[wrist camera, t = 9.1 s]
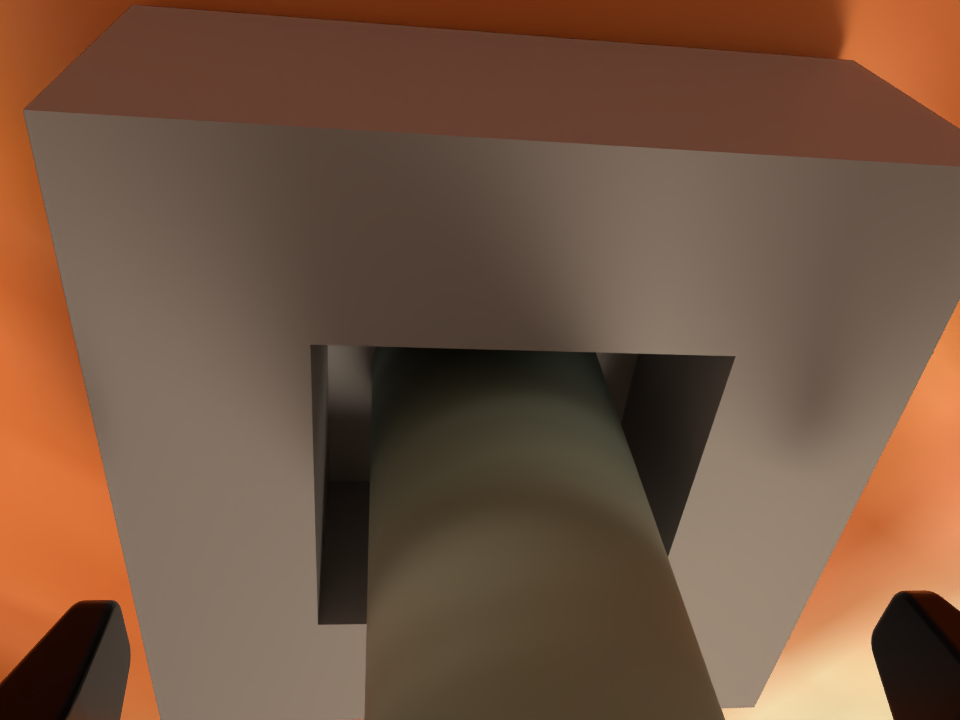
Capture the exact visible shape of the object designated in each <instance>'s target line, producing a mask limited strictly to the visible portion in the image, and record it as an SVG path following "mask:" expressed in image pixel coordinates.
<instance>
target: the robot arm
mask: <svg viewBox="0 0 960 720" xmlns="http://www.w3.org/2000/svg"><path fill="white" fill-rule="evenodd" d="M871 644H872V651H873V655H874V658H875V662H876V665H877V668H878V671H879V674H880V678H881V681H882V684H883V687H884V691H885V694H886V697H887V700H888V703H889V707H890V710H891V713H892V716H893V720H960V611H959V610H958V609H956V608H955V607H954V606H952V605H951V604H950V603H949V602H947V601H946V600H945V599H943V598H942V597H941V596H939V595H938V594H936V593H934V592H931V591H900V592H899V593H897V594H895V595H894V597H893V598H892V600H891V601H890V603H889V605H888V606H887V608H886V610H885V611H884V613H883V615H882V616H881V618H880V620H879V621H878V623H877V625H876V627H875V628H874V630H873V633H872V640H871ZM129 667H130V644H129V640H128V636H127V632H126V627H125V623H124V619H123V615H122V611H121V608H120V606H119V604H118V603H117V602H116V601H113V600H84V601H80V602H78V603H76V604H74V605H73V606H72V607H71V608H70V609H69V610H68V611H67V612H66V613H65V614H64V615H63V616H62V617H61V618H60V619H59V620H58V622H57V623H56V624H55V625H54V626H53V627H52V628H51V629H50V630H49V631H48V632H47V633H46V635H45V636H44V637H43V638H42V639H41V640H40V641H39V642H38V643H37V644H36V645H35V646H34V648H33V649H32V650H31V651H30V652H29V653H28V654H27V655H26V656H25V657H24V658H23V659H22V661H21V662H20V663H19V664H18V665H17V666H16V667H15V668H14V669H13V670H12V671H11V672H10V674H9V675H8V676H7V677H6V678H5V679H4V680H3V681H2V682H1V683H0V720H120V717H121V712H122V706H123V701H124V695H125V689H126V684H127V678H128V673H129Z"/></svg>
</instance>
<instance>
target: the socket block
mask: <svg viewBox="0 0 960 720" xmlns="http://www.w3.org/2000/svg"><path fill="white" fill-rule="evenodd" d="M23 112H24V117H25V121H26V125H27V130H28V134H29V139H30V143H31V148H32V152H33V156H34V161H35V165H36V170H37V174H38V179H39V183H40V188H41V192H42V196H43V201H44V205H45V210H46V214H47V219H48V223H49V227H50V232H51V236H52V241H53V245H54V250H55V254H56V258H57V263H58V267H59V272H60V276H61V281H62V285H63V289H64V294H65V298H66V303H67V307H68V312H69V316H70V320H71V325H72V329H73V334H74V338H75V343H76V347H77V352H78V356H79V360H80V365H81V369H82V374H83V378H84V383H85V387H86V391H87V396H88V400H89V405H90V409H91V414H92V418H93V422H94V427H95V431H96V436H97V440H98V445H99V449H100V453H101V458H102V462H103V467H104V471H105V476H106V480H107V484H108V489H109V493H110V498H111V502H112V507H113V511H114V516H115V520H116V524H117V529H118V533H119V538H120V542H121V547H122V551H123V555H124V560H125V564H126V569H127V573H128V578H129V582H130V586H131V591H132V595H133V600H134V604H135V609H136V613H137V617H138V622H139V626H140V631H141V635H142V640H143V644H144V648H145V653H146V657H147V662H148V666H149V671H150V675H151V680H152V684H153V688H154V693H155V697H156V702H157V706H158V711H159V715H160V719H161V720H351V719H364V714H365V671H366V629H367V586H368V543H369V500H370V457H371V414H372V372H373V360H374V355H375V351H376V347H377V346H379V347H416V348H452V349H489V350H526V351H563V352H596V355H597V357H598V360H599V363H600V366H601V369H602V372H603V374H604V377H605V380H606V383H607V386H608V389H609V391H610V394H611V397H612V400H613V403H614V406H615V409H616V411H617V414H618V417H619V420H620V423H621V426H622V428H623V431H624V434H625V437H626V440H627V443H628V445H629V448H630V451H631V454H632V457H633V460H634V463H635V465H636V468H637V471H638V474H639V477H640V480H641V482H642V485H643V488H644V491H645V494H646V497H647V499H648V502H649V505H650V508H651V511H652V514H653V517H654V519H655V522H656V525H657V528H658V531H659V534H660V536H661V539H662V542H663V545H664V548H665V551H666V553H667V556H668V559H669V562H670V565H671V568H672V570H673V573H674V576H675V579H676V582H677V585H678V588H679V590H680V593H681V596H682V599H683V602H684V605H685V607H686V610H687V613H688V616H689V619H690V622H691V624H692V627H693V630H694V633H695V636H696V639H697V642H698V644H699V647H700V650H701V653H702V656H703V659H704V661H705V664H706V667H707V670H708V673H709V676H710V678H711V681H712V684H713V687H714V690H715V693H716V696H717V698H718V701H719V704H720V707H721V708H745V707H754V706H755V704H756V703H757V701H758V699H759V697H760V695H761V693H762V691H763V689H764V687H765V685H766V683H767V681H768V679H769V677H770V675H771V673H772V671H773V669H774V667H775V665H776V663H777V661H778V659H779V657H780V655H781V653H782V651H783V649H784V647H785V645H786V643H787V641H788V639H789V637H790V635H791V633H792V631H793V629H794V627H795V625H796V623H797V621H798V619H799V617H800V615H801V613H802V611H803V609H804V607H805V605H806V603H807V601H808V599H809V597H810V595H811V593H812V591H813V589H814V587H815V585H816V583H817V581H818V579H819V577H820V575H821V573H822V571H823V569H824V568H825V566H826V564H827V562H828V560H829V558H830V556H831V554H832V552H833V550H834V548H835V546H836V544H837V542H838V540H839V538H840V536H841V534H842V532H843V530H844V528H845V526H846V524H847V522H848V520H849V518H850V516H851V514H852V512H853V510H854V508H855V506H856V504H857V502H858V500H859V498H860V496H861V494H862V492H863V490H864V488H865V486H866V484H867V482H868V480H869V478H870V476H871V474H872V472H873V470H874V468H875V466H876V464H877V462H878V460H879V458H880V456H881V454H882V452H883V450H884V448H885V446H886V444H887V442H888V440H889V438H890V436H891V435H892V433H893V431H894V429H895V427H896V425H897V423H898V421H899V419H900V417H901V415H902V413H903V411H904V409H905V407H906V405H907V403H908V401H909V399H910V397H911V395H912V393H913V391H914V389H915V387H916V385H917V383H918V381H919V379H920V377H921V375H922V373H923V371H924V369H925V367H926V365H927V363H928V361H929V359H930V357H931V355H932V353H933V351H934V349H935V347H936V345H937V343H938V341H939V339H940V337H941V335H942V333H943V331H944V329H945V327H946V325H947V323H948V321H949V319H950V317H951V315H952V313H953V311H954V309H955V307H956V305H957V303H958V301H959V300H960V129H959V128H958V127H956V126H954V125H953V124H951V123H950V122H948V121H947V120H945V119H944V118H942V117H941V116H939V115H937V114H936V113H934V112H933V111H931V110H930V109H928V108H927V107H925V106H923V105H922V104H920V103H919V102H917V101H916V100H914V99H913V98H911V97H909V96H908V95H906V94H905V93H903V92H902V91H900V90H899V89H897V88H895V87H894V86H892V85H891V84H889V83H888V82H886V81H885V80H883V79H882V78H880V77H878V76H877V75H875V74H874V73H872V72H871V71H869V70H868V69H866V68H864V67H863V66H861V65H860V64H858V63H857V62H855V61H854V60H842V59H829V58H816V57H803V56H790V55H778V54H765V53H752V52H739V51H726V50H713V49H700V48H687V47H674V46H661V45H648V44H635V43H622V42H609V41H596V40H583V39H570V38H557V37H545V36H532V35H519V34H506V33H493V32H480V31H467V30H454V29H441V28H428V27H415V26H402V25H389V24H376V23H363V22H350V21H337V20H325V19H312V18H299V17H286V16H273V15H260V14H247V13H234V12H221V11H208V10H195V9H182V8H169V7H156V6H143V5H132V6H131V7H130V8H129V9H128V10H127V11H126V12H124V13H123V14H122V15H121V16H120V17H119V18H118V19H117V20H116V21H115V22H114V23H113V24H112V25H111V26H110V27H109V28H108V29H107V30H106V31H105V32H104V33H103V34H102V35H101V36H99V37H98V38H97V39H96V40H95V41H94V42H93V43H92V44H91V45H90V46H89V47H88V48H87V49H86V50H85V51H84V52H83V53H82V54H81V55H80V56H79V57H78V58H77V59H76V60H74V61H73V62H72V63H71V64H70V65H69V66H68V67H67V68H66V69H65V70H64V71H63V72H62V73H61V74H60V75H59V76H58V77H57V78H56V79H55V80H54V81H53V82H52V83H50V84H49V85H48V86H47V87H46V88H45V89H44V90H43V91H42V92H41V93H40V94H39V95H38V96H37V97H36V98H35V99H34V100H33V101H32V102H31V103H30V104H29V105H28V106H27V107H25V108H24V109H23Z"/></svg>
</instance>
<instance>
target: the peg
mask: <svg viewBox="0 0 960 720" xmlns="http://www.w3.org/2000/svg"><path fill="white" fill-rule="evenodd" d="M364 720H725V718H724V715H723V713H722V710H721V707H720V704H719V701H718V698H717V696H716V693H715V690H714V687H713V684H712V681H711V678H710V676H709V673H708V670H707V667H706V664H705V661H704V659H703V656H702V653H701V650H700V647H699V644H698V642H697V639H696V636H695V633H694V630H693V627H692V624H691V622H690V619H689V616H688V613H687V610H686V607H685V605H684V602H683V599H682V596H681V593H680V590H679V588H678V585H677V582H676V579H675V576H674V573H673V570H672V568H671V565H670V562H669V559H668V556H667V553H666V551H665V548H664V545H663V542H662V539H661V536H660V534H659V531H658V528H657V525H656V522H655V519H654V517H653V514H652V511H651V508H650V505H649V502H648V499H647V497H646V494H645V491H644V488H643V485H642V482H641V480H640V477H639V474H638V471H637V468H636V465H635V463H634V460H633V457H632V454H631V451H630V448H629V445H628V443H627V440H626V437H625V434H624V431H623V428H622V426H621V423H620V420H619V417H618V414H617V411H616V409H615V406H614V403H613V400H612V397H611V394H610V391H609V389H608V386H607V383H606V380H605V377H604V374H603V372H602V369H601V366H600V363H599V360H598V357H597V355H596V352H563V351H526V350H489V349H452V348H416V347H379V346H377V347H376V351H375V355H374V360H373V372H372V414H371V457H370V500H369V543H368V586H367V629H366V671H365V714H364Z"/></svg>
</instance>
